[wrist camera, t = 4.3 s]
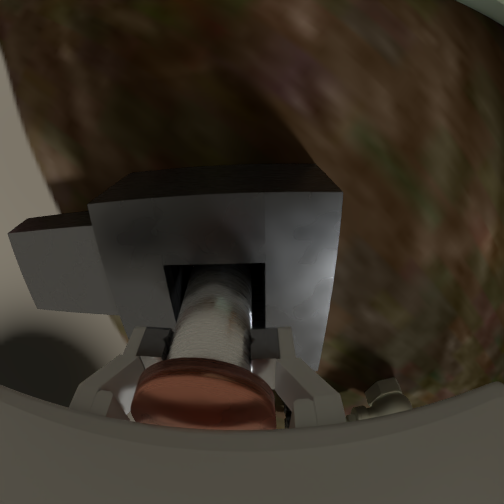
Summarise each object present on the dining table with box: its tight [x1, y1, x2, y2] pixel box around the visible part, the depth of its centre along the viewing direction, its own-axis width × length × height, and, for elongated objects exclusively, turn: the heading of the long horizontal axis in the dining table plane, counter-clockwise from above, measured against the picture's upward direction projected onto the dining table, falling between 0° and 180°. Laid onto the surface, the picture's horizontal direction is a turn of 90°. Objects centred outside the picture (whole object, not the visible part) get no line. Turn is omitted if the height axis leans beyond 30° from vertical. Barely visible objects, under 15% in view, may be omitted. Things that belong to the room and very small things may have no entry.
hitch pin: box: [131, 263, 276, 430], centre depth 12 cm, size 4×4×11 cm
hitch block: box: [8, 164, 343, 371], centre depth 15 cm, size 19×10×5 cm, turn 92°
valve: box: [284, 377, 412, 429], centre depth 22 cm, size 7×7×12 cm
